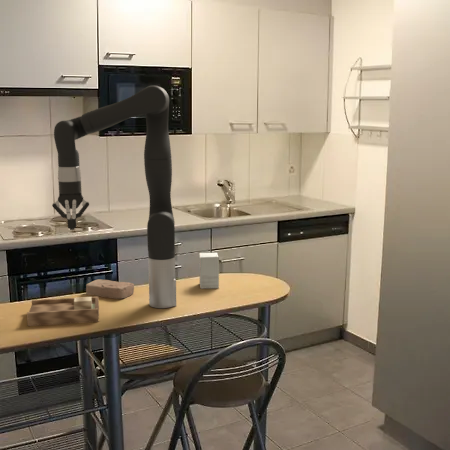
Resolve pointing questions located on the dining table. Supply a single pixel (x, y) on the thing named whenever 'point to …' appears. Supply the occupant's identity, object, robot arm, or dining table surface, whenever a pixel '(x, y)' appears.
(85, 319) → the tray
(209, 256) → the supplement box
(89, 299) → the block
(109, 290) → the brick
